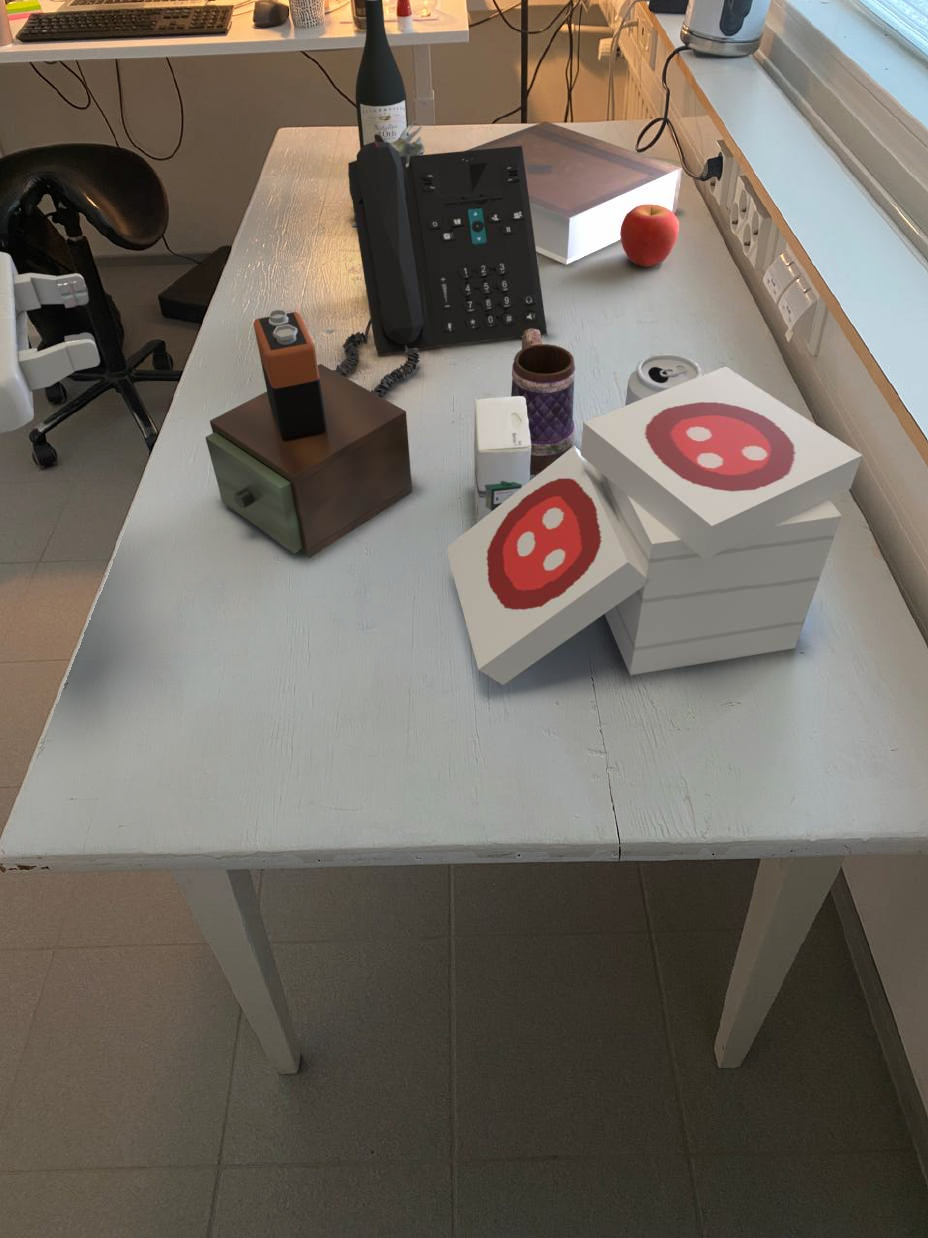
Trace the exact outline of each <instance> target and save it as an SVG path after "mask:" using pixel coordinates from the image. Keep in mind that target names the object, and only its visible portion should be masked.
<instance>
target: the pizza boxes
mask: <svg viewBox="0 0 928 1238" xmlns="http://www.w3.org/2000/svg"><path fill="white" fill-rule="evenodd" d="M862 458H863V454H862V453H860V452H859V451H857V450H855V449H854V448H853V447H851V446H849V445H848V444H846V443H844V442H843V441H841V440H840V439H838V437H835V436H834V435H832V434H831V433H829V432H828V431H826V430H825V429H823V428H821V427H820V426H818V425H817V424H815V423H814V422H812V421H811V420H809V419H808V418H806V417H804V416H803V415H802V414H799V413H798V412H797V411H795V410H794V409H792V408H791V407H789V406H787V405H786V404H784V403H783V402H781V401H780V400H779V399H777V398H776V397H774V396H772V395H771V394H769V393H768V392H766V391H764V390H763V389H761V388H760V387H759V386H757V385H755V384H754V383H753V382H751V381H749V380H748V379H746V378H744V377H743V376H741V375H740V374H738V373H737V372H735V371H734V370H732V369H730V368H729V367H727V366H723V367H720V368H717V369H714V370H713V371H710V372H707V373H705V374H702V376H700V377H697V378H695V379H692V380H690V381H687V382H684V383H682V384H679V385H677V386H674V387H672V388H669V389H667V390H664V391H662V392H659V393H657V394H654V395H651V396H649V397H646V398H644V399H641V400H639V401H636V402H634V403H631V404H629V405H626V406H625V405H624V406H621V407H619V408H615V409H614V410H611V411H608V412H606V413H604V414H601V415H598V416H596V417H594V418H591V419H588V420H586V421H584V422H583V424H582V435H581V447H580V450H579V449H578V448H577V447H576V446H575V445H572V448H571V449H569V450H568V451H567V452H566V453H564V454H563V455H562V456H561V457H559V458H558V459H557V460H556V461H554V462H553V463H552V464H551V465H549V466H548V467H547V468H546V469H544V470H543V471H542V472H541V473H537V474H536V476H534V477H533V478H531V480H529V482H528V483H527V484H526V485H524V486H523V487H522V488H521V489H519V490H518V491H517V492H516V493H514V494H513V495H512V496H511V497H509V498H508V499H507V500H506V501H504V502H503V503H502V504H501V505H499V506H498V507H497V508H496V509H494V510H493V511H492V512H491V513H489V514H488V515H487V516H486V517H484V518H483V519H482V520H481V521H479V522H478V523H477V522H476V523H475V524H474V525H473V526H471V528H469V529H468V530H467V531H466V532H464V533H463V534H462V535H461V536H458V538H457V539H455V540H454V541H453V542H452V543H451V544H449V545H448V546H447V547H446V548H445V549H446V554H447V558H448V560H449V564H450V568H451V573H452V575H453V581H454V584H455V587H456V590H457V595H458V598H459V602H460V606H461V610H462V613H463V616H464V620H465V624H466V628H467V633H468V636H469V639H470V642H471V646H472V651H473V654H474V658H475V661H476V665H477V669H478V671H480V672H481V673H483V674H485V676H486V675H487V676H488V677H490V678H491V679H492V680H494V681H496V682H497V683H499V684H501V685H502V686H503V685H505V684H506V683H508V682H509V681H511V680H513V679H514V678H515V677H516V676H519V674H521V673H522V672H524V671H525V670H526V669H529V667H531V666H533V665H534V664H535V663H536V662H538V661H539V660H541V659H543V658H544V657H545V656H547V655H548V654H549V653H551V652H552V651H553V650H555V649H556V648H558V647H559V646H560V645H562V644H564V643H565V642H567V641H568V640H569V639H571V638H572V637H573V636H575V635H576V634H578V633H579V632H580V631H582V630H584V629H585V628H587V627H588V626H589V625H590V624H592V623H594V622H595V621H596V620H598V619H599V618H600V617H602V616H603V615H604V616H605V618H606V620H607V623H608V626H609V628H610V631H611V633H612V635H613V638H614V641H615V642H616V645H617V648H618V650H619V652H620V654H621V657H622V659H623V662H624V664H625V667H626V669H627V671H628V674H629V676H634V675H635V676H636V675H639V674H647V673H652V672H658V671H659V672H660V671H664V670H670V669H678V668H682V667H689V666H695V665H702V664H707V663H714V662H721V661H725V660H732V659H738V658H743V657H750V656H756V655H760V654H761V655H762V654H768V653H774V652H781V651H787V650H792V649H796V647H797V645H798V641H799V638H800V635H801V632H802V630H803V628H804V627H803V626H804V624H805V621H806V619H807V615H808V613H809V610H810V607H811V604H812V601H813V600H814V599H813V598H814V596H815V593H816V590H817V587H818V584H819V581H820V578H821V576H822V573H823V570H824V567H825V564H826V562H827V559H828V556H829V553H830V550H831V548H832V545H833V542H834V539H835V536H836V534H837V530H838V528H839V525H840V522H841V519H842V514H841V513H840V512H839V510H838V509H837V508H836V506H835V505H834V503H833V502H832V500H830V499H833V498H834V497H836V496H838V495H840V494H843V493H844V492H847V491H849V490H851V489H852V485H853V483H854V481H855V478H856V474H857V471H858V469H859V466H860V463H861V460H862Z"/></svg>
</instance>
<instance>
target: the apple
mask: <svg viewBox="0 0 928 1238" xmlns="http://www.w3.org/2000/svg"><path fill="white" fill-rule="evenodd" d="M679 231H680V221H679V219H678V217H677V216H676V214H675V213H674V214H673V212H672V211H671V210H670V209H668V208H666V207H664V206H661V205H657V204H642V205H639V206H636V207H634V208H633V209H632V210H630V211H629V212H628V213H627V214H626V216H625V217H624V220H623V222H622V225H621V228H620V244H621V246H622V249H623V251H624V253H625V255H626V256H627V257H626V258H628V260H629V261H631V262H632V263H633V264H635V265H637V266H640V267H652V266H656V265H658V264H661V263H662V262H664V261H665V260H666V259H667V258H668V257H669V255H670V254H671V253H672V250H673V249H674V247H675V245H676V242H677V240H678V237H679Z"/></svg>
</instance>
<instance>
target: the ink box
mask: <svg viewBox="0 0 928 1238" xmlns="http://www.w3.org/2000/svg"><path fill="white" fill-rule="evenodd" d="M528 424H529V421H528V417H527V406H526V399H525V398H524V397H523V396H512V397H511V396H493V397H491V396H490V397H478V398H475V399H474V439H473V440H474V441H473V442H474V445H473V446H474V449H473V453H474V456H473V457H474V461H473V462H474V465H473V466H474V470H473V471H474V474H473V475H474V479H473V480H474V505H475V506H474V507H475V519H476V520H475V521H476V524H477V523H478V522H479V521H481V520H482V519H483V518H484V517H486V516H487V515H488V514H489V513H491V512H492V511H493V510H494V509H496V508H497V507H498V506H499V505H501V504H502V503H503V502H504V501H506V500H507V499H508V498H509V497H511V496H512V495H513V494H514V493H516V492H517V491H518V490H519V489H521V488H522V487H523V486H524V485H526V484H527V483H528V482H529V481H530V477H531V475H530V474H531V472H530V456H531V440H530V430H529V425H528Z"/></svg>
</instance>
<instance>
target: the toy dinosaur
mask: <svg viewBox="0 0 928 1238" xmlns="http://www.w3.org/2000/svg"><path fill="white" fill-rule="evenodd" d="M414 125H416V120H414V121H413V122H412V123H411V124H410V125H408V127H407V128H406V129H405V130H404V131H403V132H402V133H401V135H400V137H399V139H398V140H397V141H395V142H392V143H390V142H388V141H386V140H385V139H384V138H383V137H382V135H380V134H378V133H376V134H375V133H374V135H375V136H374V138H375V141H377V142H387V143H390V144H391V145H392V146H393V147H394V148H395V149H396V150H397V151H398V152H399V153H400V156H403V157H405V163H406V164H408V163H409V161H410V156H416V155H425V146H424V145H423V143H422V137H421V136H419V137H418V138H417V139H416V140H415V141H413V142H411V141H412V140H413V138H414V137H415V136H417V135H418V134H419V133H420V131H422V127H423V124H420V125H419V127H418V128H417V129H415V130H414V131H412V132H411V133H410V134H409V135H408V136H407V137H406V135H407V133H409V131H410V130H412V128H413V126H414ZM405 138H406V139H405ZM348 185H349V187H348V188H349V195H350V198H351V199H352V195H351V189H350V182H349V181H348ZM353 221H355V217H354V218H353ZM350 227H351V228H354V229H357V227H356V223H353V224H352V225H351V226H350Z"/></svg>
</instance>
